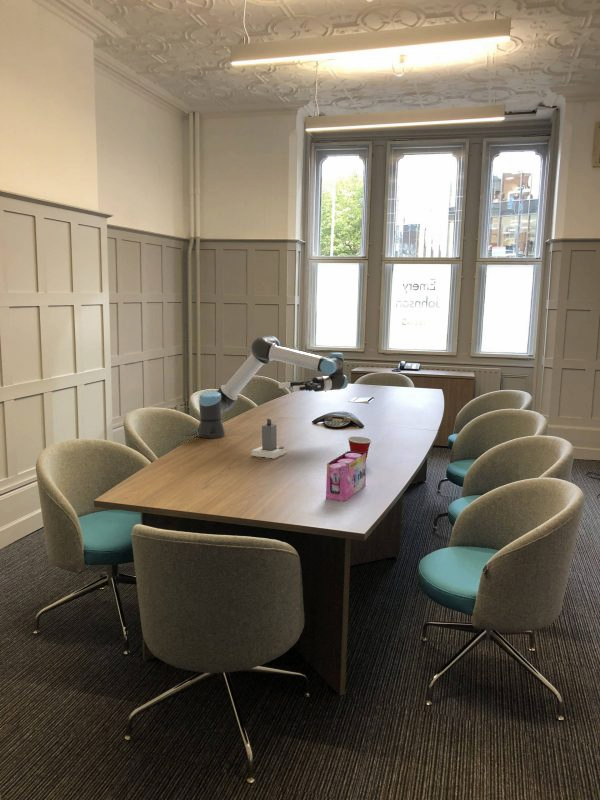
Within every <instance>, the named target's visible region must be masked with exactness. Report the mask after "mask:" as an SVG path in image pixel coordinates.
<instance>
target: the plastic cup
mask: <svg viewBox="0 0 600 800" xmlns="http://www.w3.org/2000/svg"><path fill="white" fill-rule="evenodd" d="M347 440H348V444H349V445H348V446H349V451H354V452H364V453H366V459H367V458H368V453H369V448H370V444H371V443H372V442H373V441H372V439H371V438H369V437H364V436H356V435H355V436H348V437H347Z"/></svg>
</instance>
